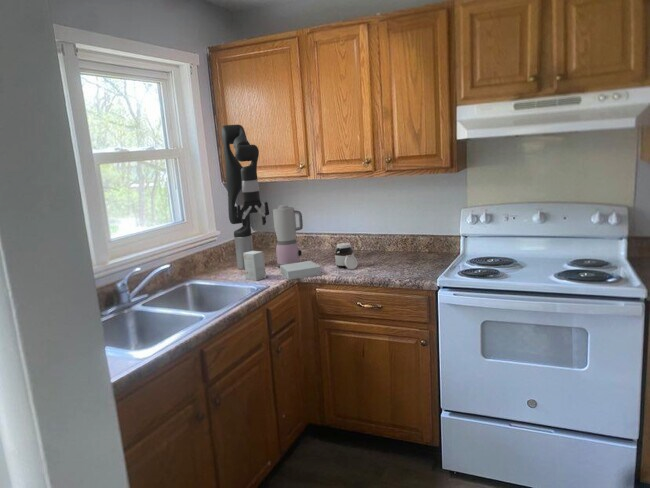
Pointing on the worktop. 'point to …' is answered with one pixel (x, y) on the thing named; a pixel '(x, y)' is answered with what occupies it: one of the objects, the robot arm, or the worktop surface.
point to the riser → (300, 270)
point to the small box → (254, 265)
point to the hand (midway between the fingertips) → (254, 225)
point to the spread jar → (345, 256)
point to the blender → (287, 234)
